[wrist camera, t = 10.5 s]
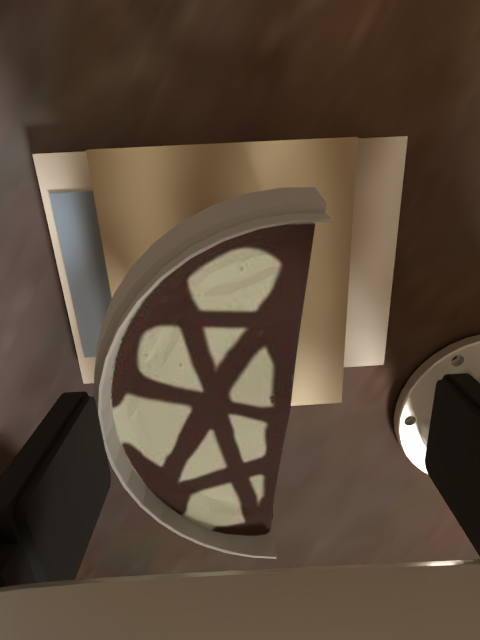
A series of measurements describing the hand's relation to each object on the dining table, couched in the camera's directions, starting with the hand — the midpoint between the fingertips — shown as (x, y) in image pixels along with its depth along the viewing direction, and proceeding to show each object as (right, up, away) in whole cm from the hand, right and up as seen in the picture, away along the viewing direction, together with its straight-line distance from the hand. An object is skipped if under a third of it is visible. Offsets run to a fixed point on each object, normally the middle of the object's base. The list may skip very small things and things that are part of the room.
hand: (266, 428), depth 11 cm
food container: (-3, +4, +10) cm, 11 cm away
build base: (-1, +6, +14) cm, 16 cm away
